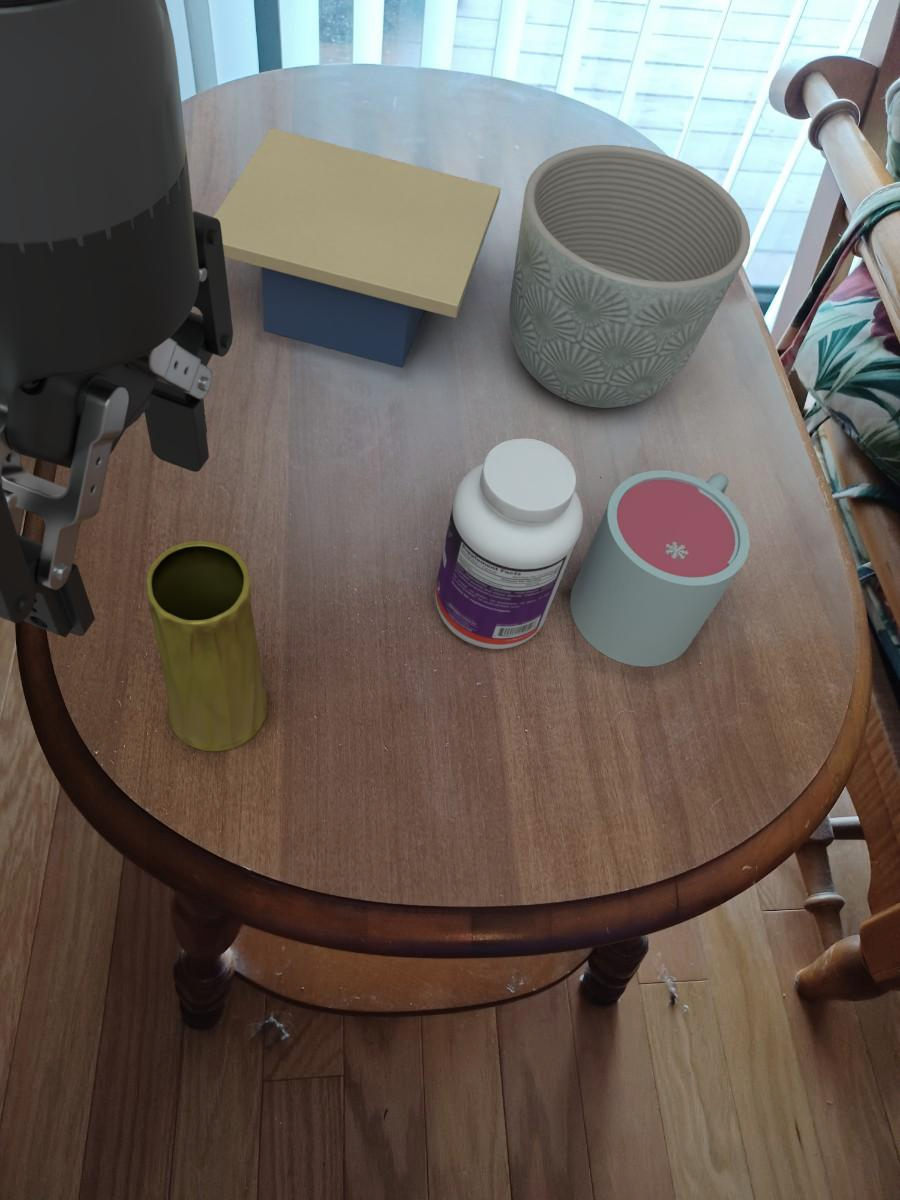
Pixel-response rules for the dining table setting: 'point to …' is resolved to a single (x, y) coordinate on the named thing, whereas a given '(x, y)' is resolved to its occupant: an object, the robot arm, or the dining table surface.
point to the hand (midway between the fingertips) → (126, 535)
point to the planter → (619, 271)
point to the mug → (658, 566)
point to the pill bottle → (508, 544)
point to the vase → (207, 644)
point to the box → (353, 242)
